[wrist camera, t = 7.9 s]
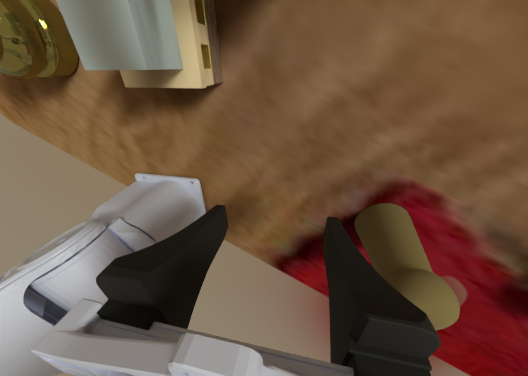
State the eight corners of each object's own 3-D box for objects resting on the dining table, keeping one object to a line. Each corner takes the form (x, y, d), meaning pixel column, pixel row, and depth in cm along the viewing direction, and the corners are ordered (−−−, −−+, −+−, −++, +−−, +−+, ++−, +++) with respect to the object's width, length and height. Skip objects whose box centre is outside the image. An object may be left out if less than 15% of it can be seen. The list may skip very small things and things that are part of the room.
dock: (158, 81, 20) (144, 83, 18) (138, 3, 17) (118, -5, 15) (222, 82, 19) (213, 83, 17) (214, -3, 16) (202, -11, 14)
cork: (347, 234, 26) (368, 328, 16) (366, 198, 22) (405, 289, 13) (394, 245, 25) (443, 349, 16) (421, 209, 22) (502, 314, 13)
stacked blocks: (144, 85, 18) (78, 92, 13) (113, -20, 15) (5, -68, 9) (214, 85, 17) (172, 94, 12) (200, -28, 14) (130, -88, 8)
